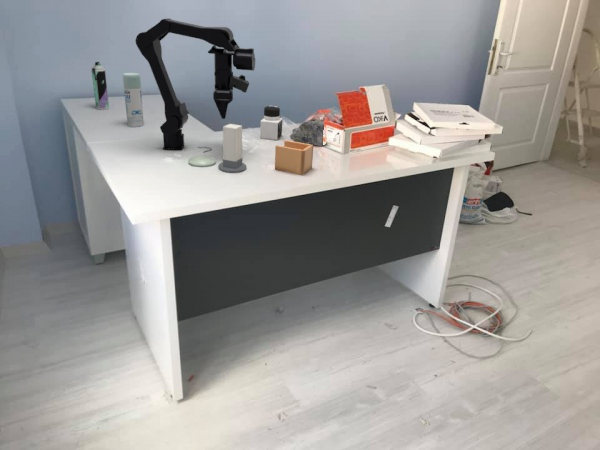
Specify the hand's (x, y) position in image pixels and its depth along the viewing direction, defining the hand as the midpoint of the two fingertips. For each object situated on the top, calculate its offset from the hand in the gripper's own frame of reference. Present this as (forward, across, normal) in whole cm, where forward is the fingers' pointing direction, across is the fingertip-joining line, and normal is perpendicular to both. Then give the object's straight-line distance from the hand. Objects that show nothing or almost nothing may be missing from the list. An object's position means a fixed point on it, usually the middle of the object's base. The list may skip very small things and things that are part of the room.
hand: (223, 115), depth 171 cm
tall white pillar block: (+12, -17, -3) cm, 21 cm away
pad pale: (+13, -12, +7) cm, 19 cm away
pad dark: (+13, -17, -3) cm, 22 cm away
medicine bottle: (+13, +20, -18) cm, 30 cm away
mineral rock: (+13, +13, -32) cm, 37 cm away
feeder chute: (+13, -17, -23) cm, 31 cm away
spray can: (+13, +60, +55) cm, 82 cm away
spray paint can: (+13, +33, +36) cm, 51 cm away
